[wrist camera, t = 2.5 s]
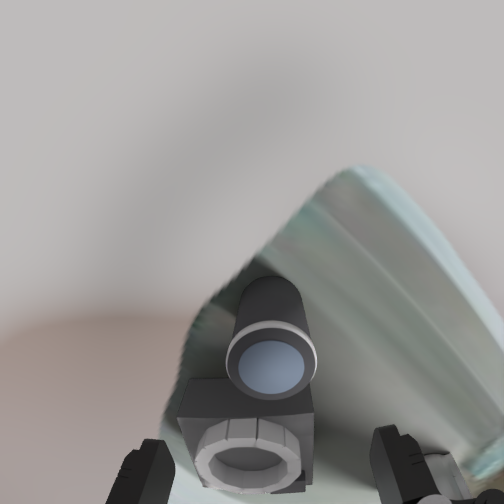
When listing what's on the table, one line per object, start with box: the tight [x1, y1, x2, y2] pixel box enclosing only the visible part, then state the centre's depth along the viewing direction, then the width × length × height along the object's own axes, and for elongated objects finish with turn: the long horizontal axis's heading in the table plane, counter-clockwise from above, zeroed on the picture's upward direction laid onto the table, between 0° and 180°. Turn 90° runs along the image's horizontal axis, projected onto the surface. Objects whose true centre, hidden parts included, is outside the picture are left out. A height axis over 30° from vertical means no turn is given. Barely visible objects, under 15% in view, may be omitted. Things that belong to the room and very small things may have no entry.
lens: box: [226, 276, 317, 400], centre depth 20 cm, size 5×5×8 cm
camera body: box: [176, 378, 314, 494], centre depth 23 cm, size 10×10×7 cm
